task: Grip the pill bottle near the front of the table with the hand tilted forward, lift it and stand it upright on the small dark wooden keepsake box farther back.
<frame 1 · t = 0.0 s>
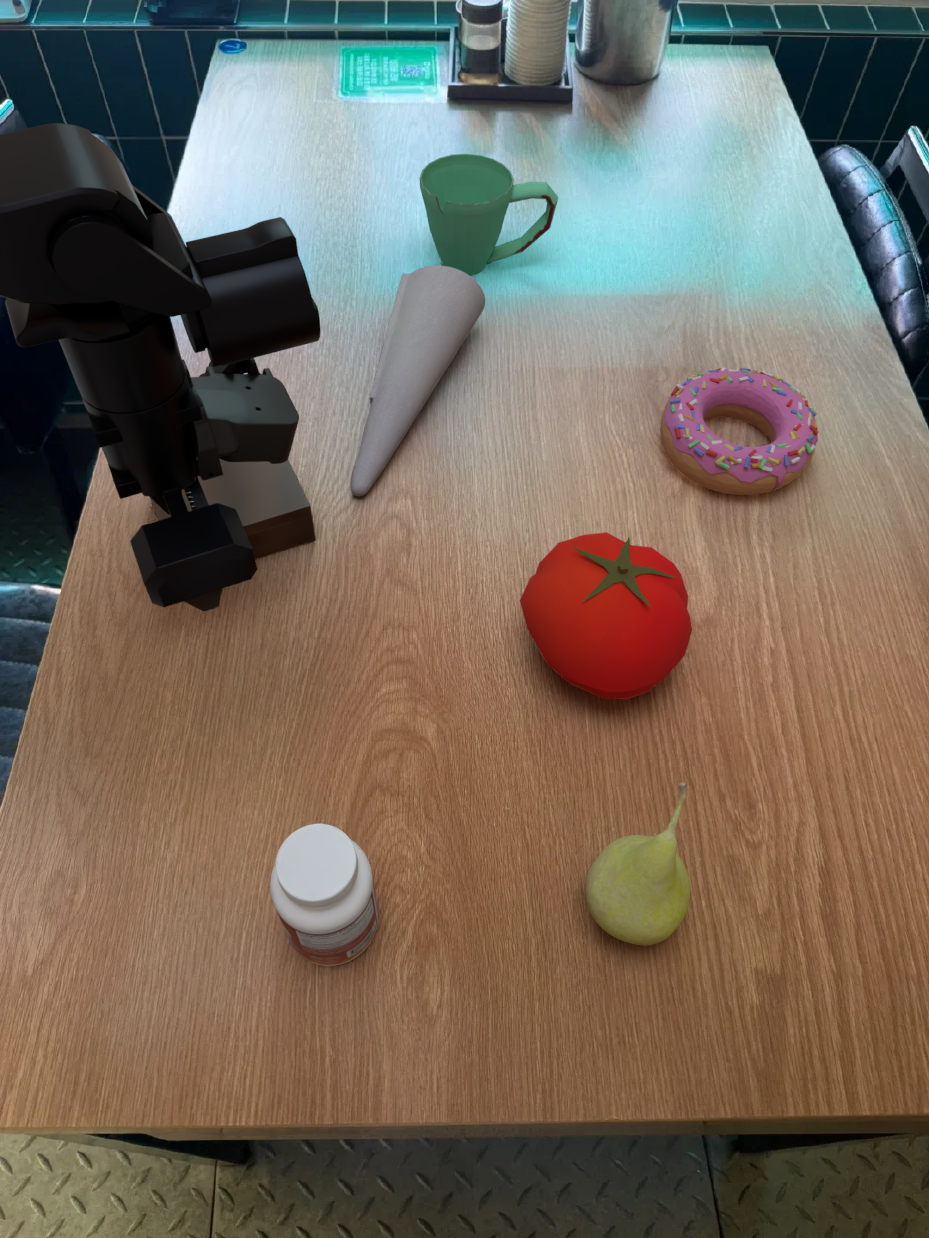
hand: (192, 557, 65), 13 cm above the table, tool pointing down, fingers open, 9 cm apart
mug: (485, 265, 107), on the table
dark wooden keepsake box: (232, 521, 84), on the table
tomato: (597, 652, 77), on the table
fruit: (630, 902, 65), on the table
donut: (730, 451, 90), on the table
grey tapered cone: (420, 409, 93), on the table
pill bottle: (333, 922, 64), on the table
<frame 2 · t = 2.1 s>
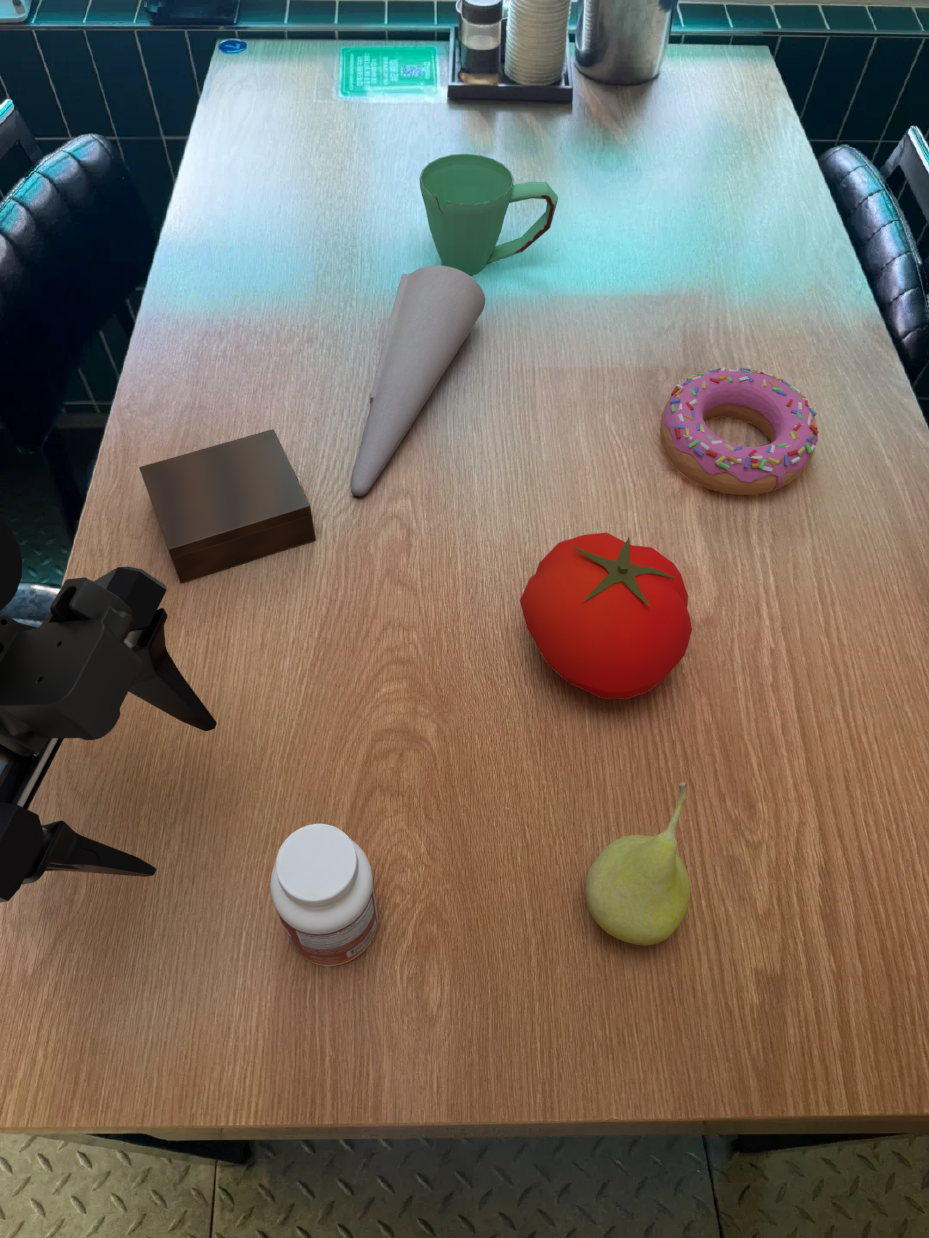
hand: (183, 796, 54), 13 cm above the table, tool tilted 45°, fingers open, 9 cm apart
nothing on the table moved.
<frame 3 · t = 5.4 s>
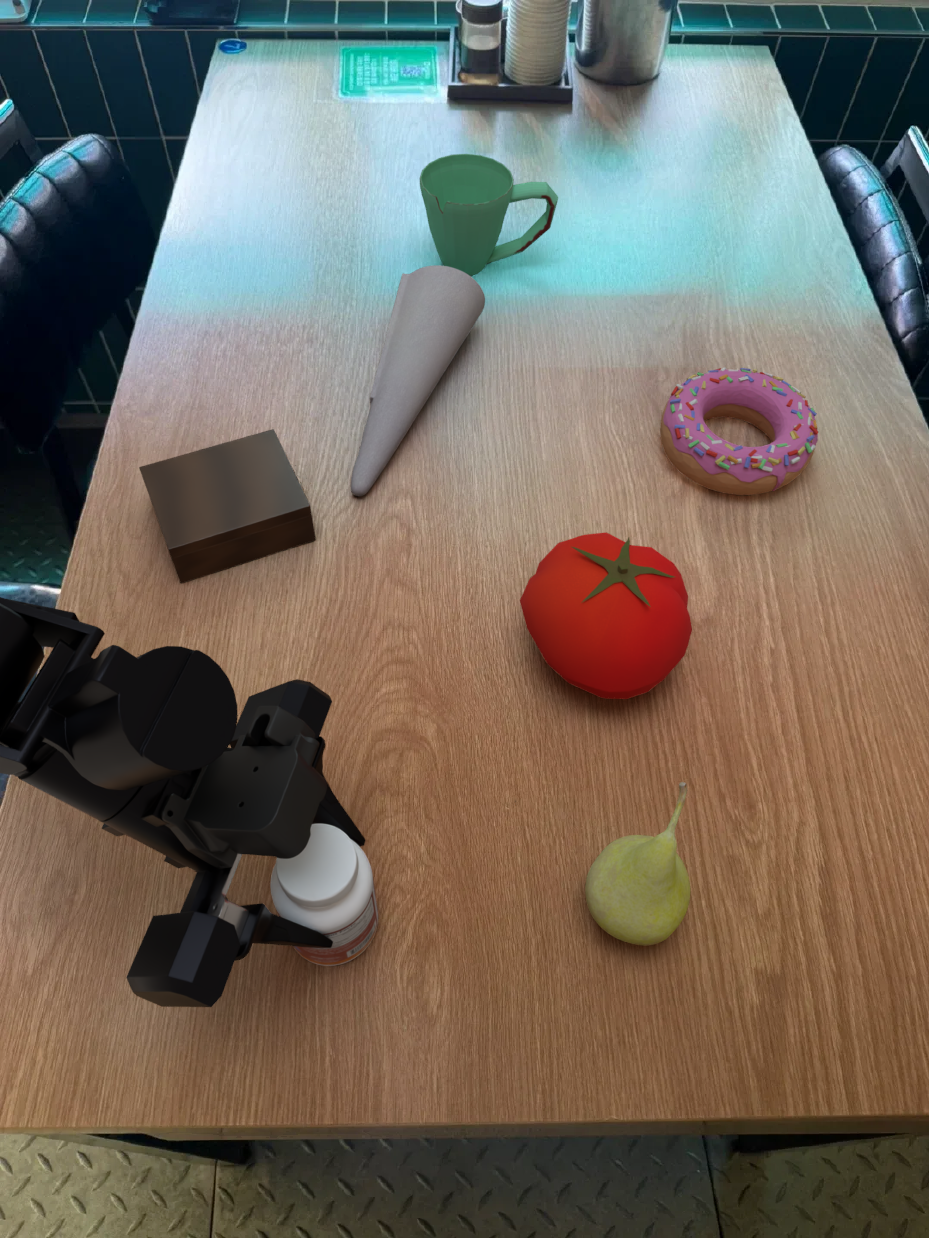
hand: (345, 893, 58), 7 cm above the table, tool tilted 45°, fingers closed on pill bottle, 6 cm apart
pill bottle: (333, 922, 64), on the table, touching gripper
everything else where it was.
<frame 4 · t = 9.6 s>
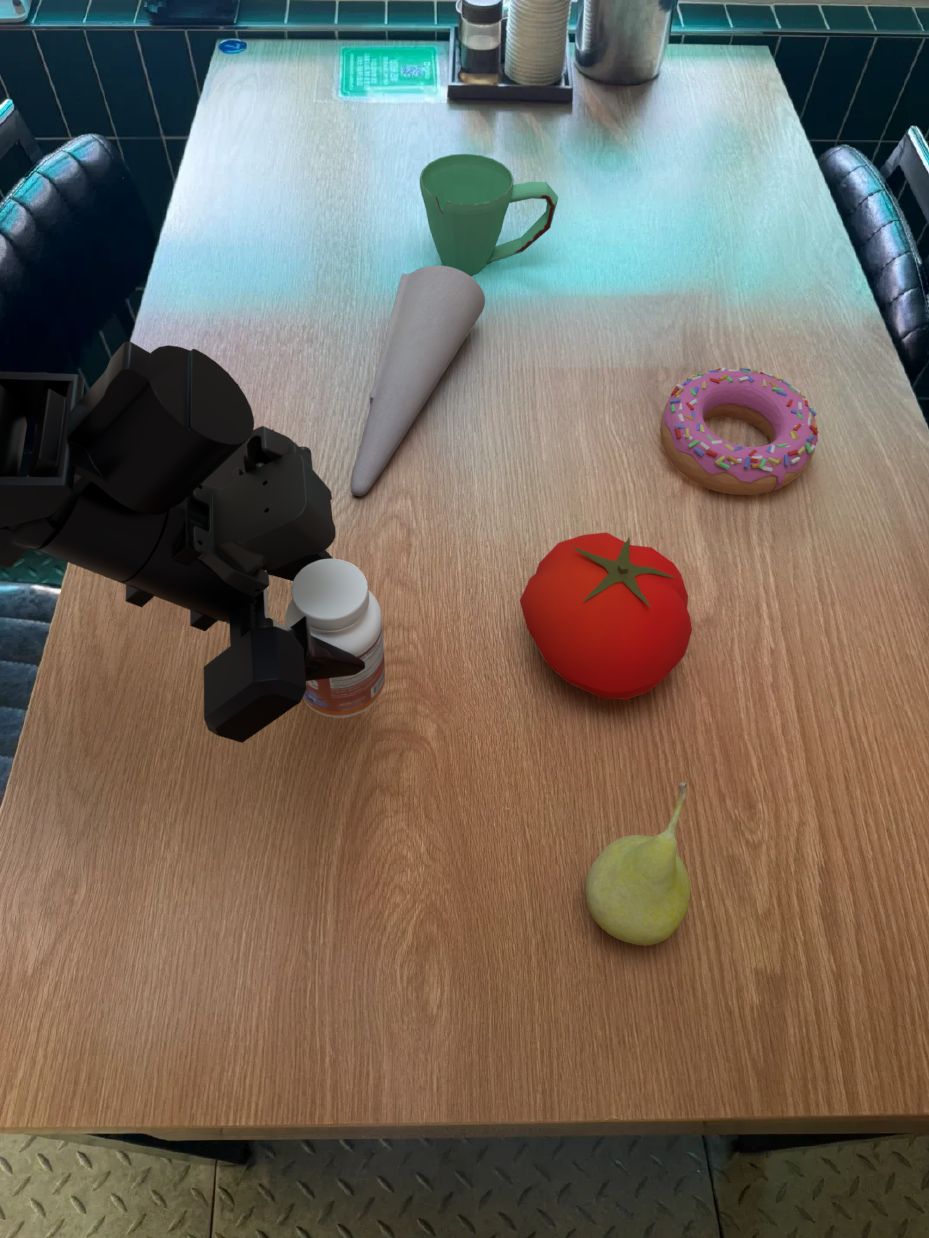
hand: (355, 627, 61), 13 cm above the table, tool tilted 45°, fingers closed on pill bottle, 6 cm apart
pill bottle: (342, 684, 67), point 6 cm above the table, touching gripper
everything else where it was.
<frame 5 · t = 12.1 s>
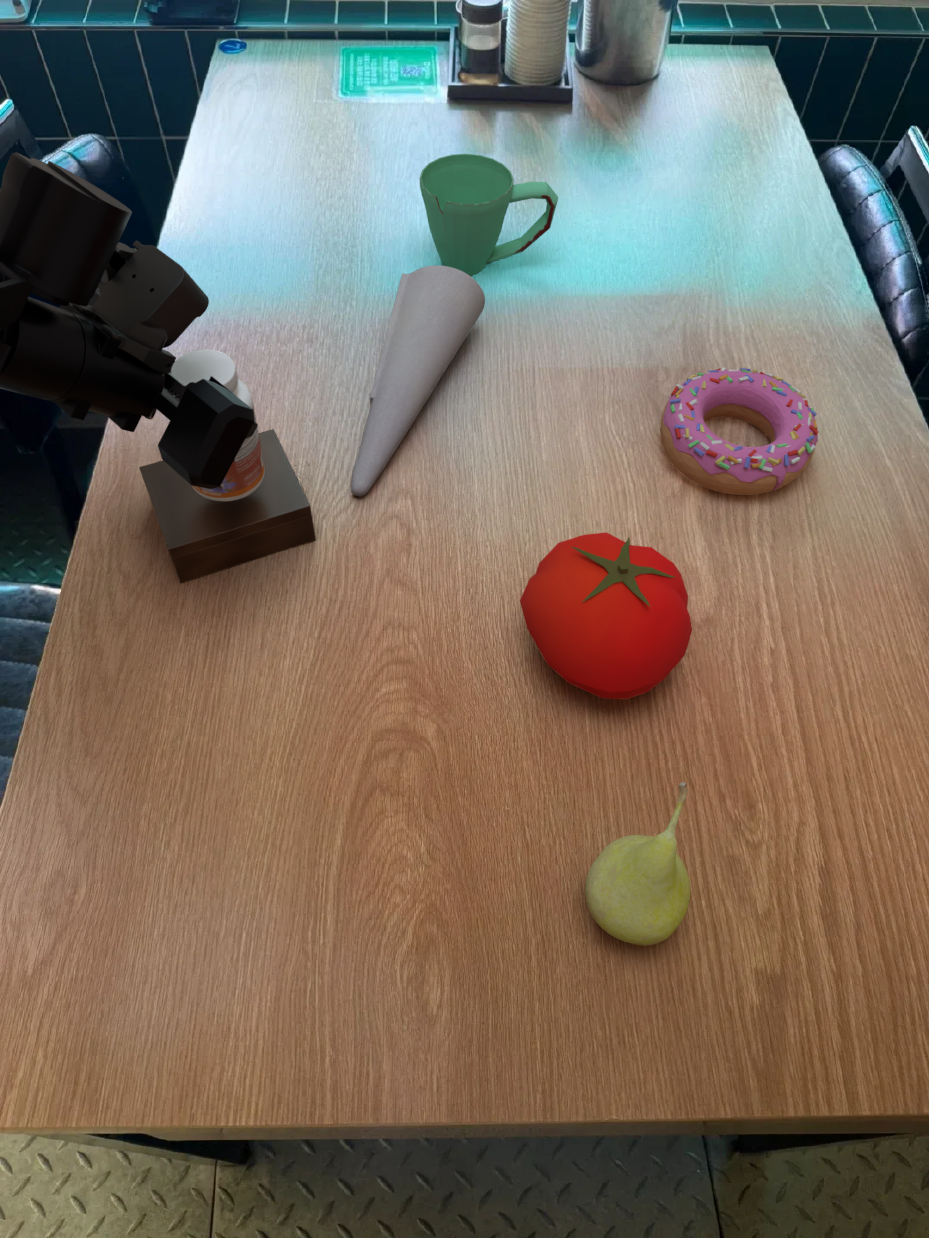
hand: (228, 408, 73), 13 cm above the table, tool tilted 45°, fingers closed on pill bottle, 6 cm apart
pill bottle: (228, 478, 78), point 6 cm above the table, touching gripper
everything else where it was.
when the fingers open (11 cm above the table, at t = 14.0 s): pill bottle stays where it is, resting on dark wooden keepsake box.
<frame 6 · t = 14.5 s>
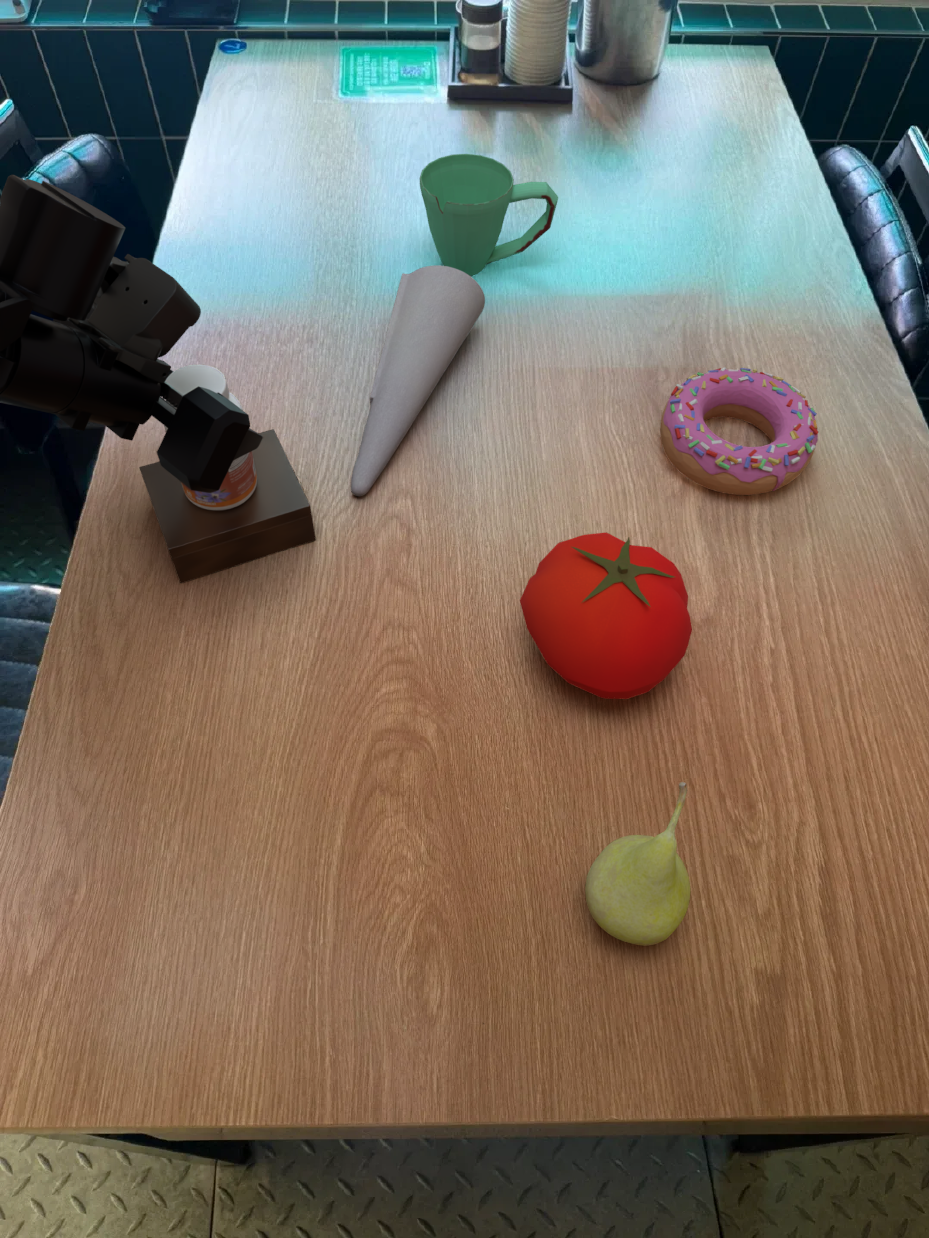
hand: (221, 413, 75), 12 cm above the table, tool tilted 45°, fingers open, 9 cm apart
pill bottle: (222, 488, 80), point 4 cm above the table, touching dark wooden keepsake box
everything else where it was.
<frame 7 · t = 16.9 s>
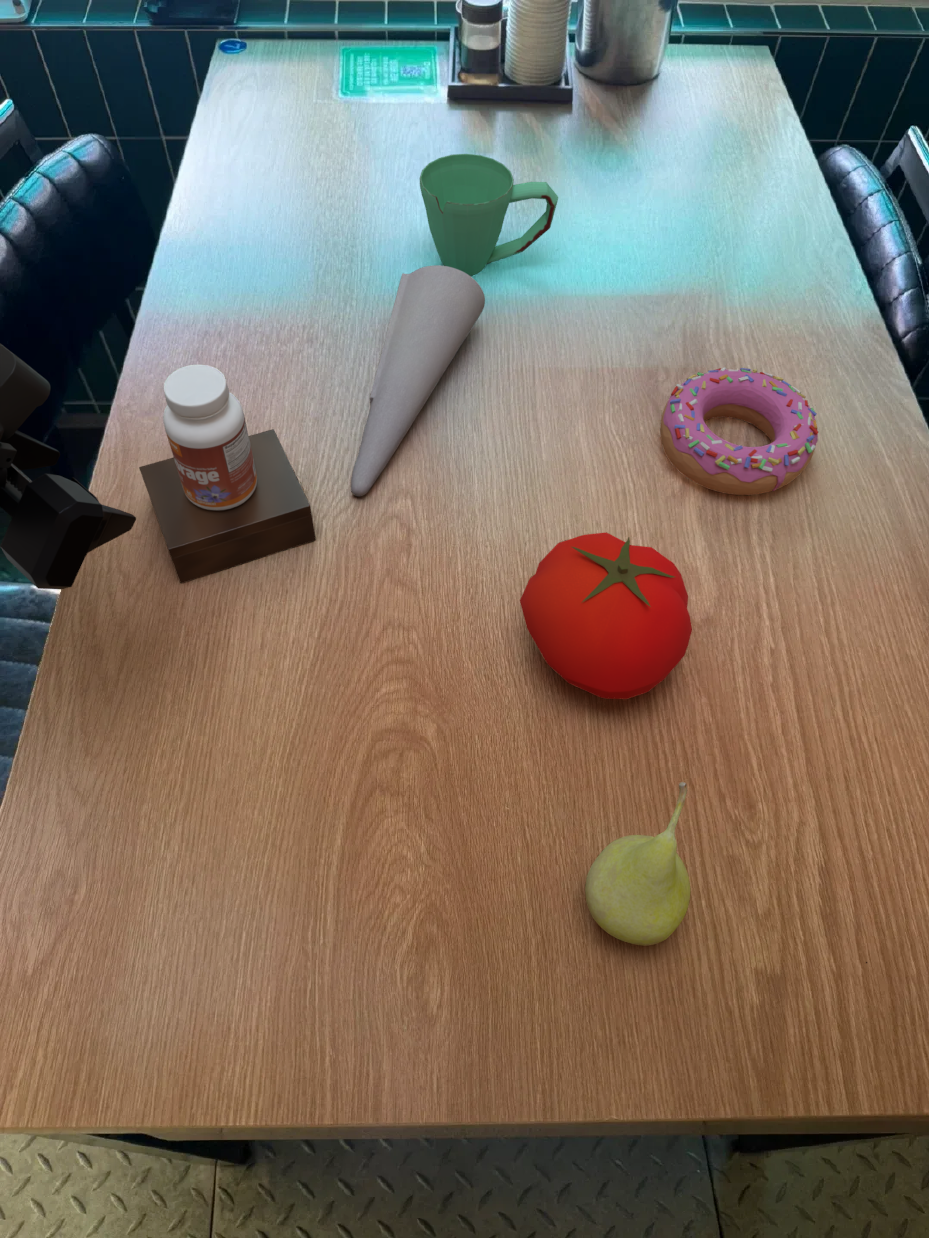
hand: (93, 489, 68), 13 cm above the table, tool tilted 45°, fingers open, 9 cm apart
nothing on the table moved.
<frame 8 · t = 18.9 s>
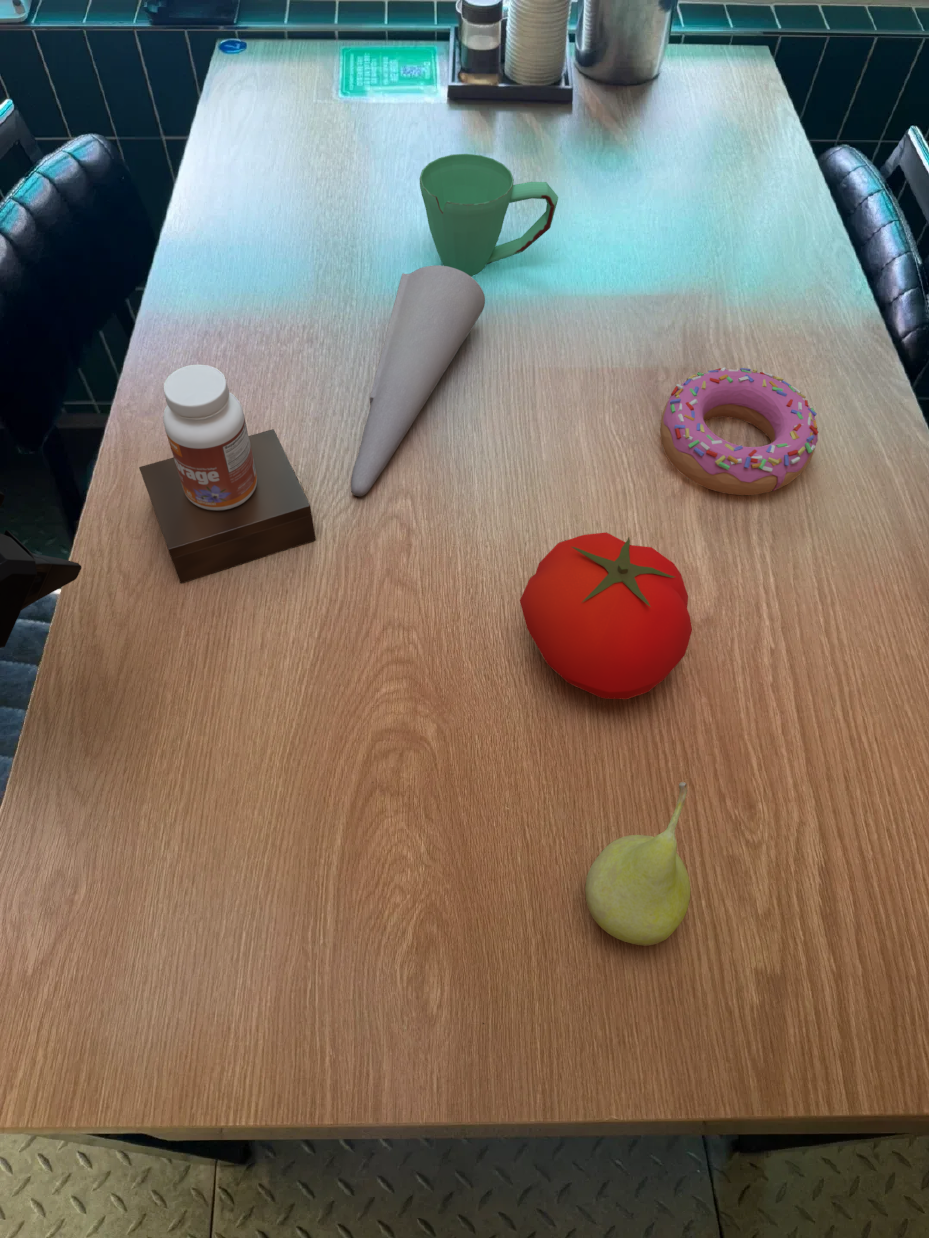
hand: (38, 534, 65), 14 cm above the table, tool tilted 45°, fingers open, 9 cm apart
nothing on the table moved.
at the end: pill bottle inside the target area on the dark wooden keepsake box (0.1 cm from its centre), point 4.3 cm above the dark wooden keepsake box's base; pill bottle tilted 0°; the gripper is holding nothing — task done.
